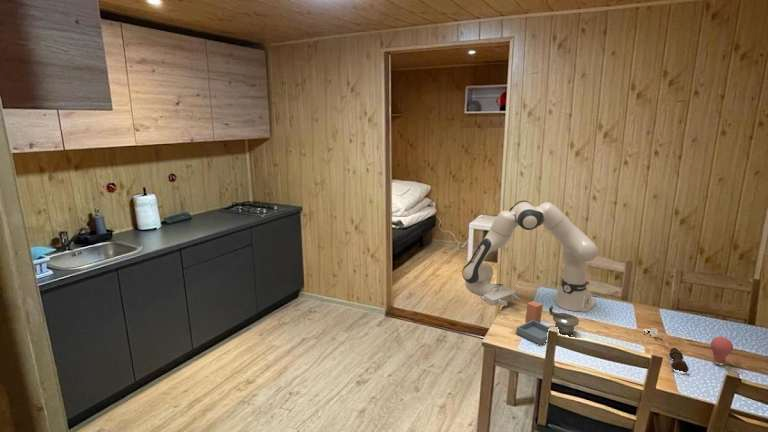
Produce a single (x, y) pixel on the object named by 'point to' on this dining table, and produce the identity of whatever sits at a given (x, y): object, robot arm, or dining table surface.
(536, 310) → the block
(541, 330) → the tray
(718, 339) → the light bulb
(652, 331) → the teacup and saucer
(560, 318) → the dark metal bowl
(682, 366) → the brown shoe
